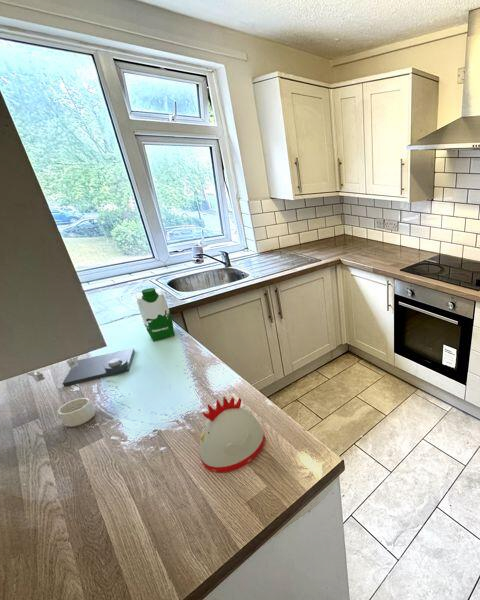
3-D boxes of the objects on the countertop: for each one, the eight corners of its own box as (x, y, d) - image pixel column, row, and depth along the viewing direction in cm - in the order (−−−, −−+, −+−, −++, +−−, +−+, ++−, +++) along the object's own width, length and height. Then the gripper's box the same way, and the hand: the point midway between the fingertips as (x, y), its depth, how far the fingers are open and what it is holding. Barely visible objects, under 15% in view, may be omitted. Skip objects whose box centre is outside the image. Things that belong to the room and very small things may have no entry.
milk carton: (150, 343, 124) (133, 294, 116) (148, 334, 130) (132, 287, 122) (177, 336, 129) (163, 289, 121) (174, 327, 136) (160, 282, 128)
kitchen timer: (193, 447, 80) (177, 399, 74) (250, 418, 89) (239, 372, 83) (214, 484, 71) (197, 432, 65) (274, 447, 80) (264, 398, 74)
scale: (63, 388, 100) (59, 380, 99) (76, 364, 112) (73, 356, 110) (128, 372, 107) (125, 365, 106) (134, 351, 119) (132, 344, 118)
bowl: (61, 431, 84) (53, 417, 83) (68, 415, 90) (61, 402, 88) (92, 422, 87) (86, 409, 85) (98, 407, 92) (92, 394, 91)
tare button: (109, 367, 105) (107, 363, 105) (111, 363, 108) (109, 359, 107) (120, 365, 107) (118, 361, 106) (122, 361, 109) (120, 357, 108)
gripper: (-32, 348, 67) (0, 401, 73) (92, 311, 83) (111, 357, 89) (-40, 340, 70) (-8, 392, 76) (81, 306, 86) (100, 350, 92)
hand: (57, 372), depth 82 cm, fingers open, 5 cm apart
